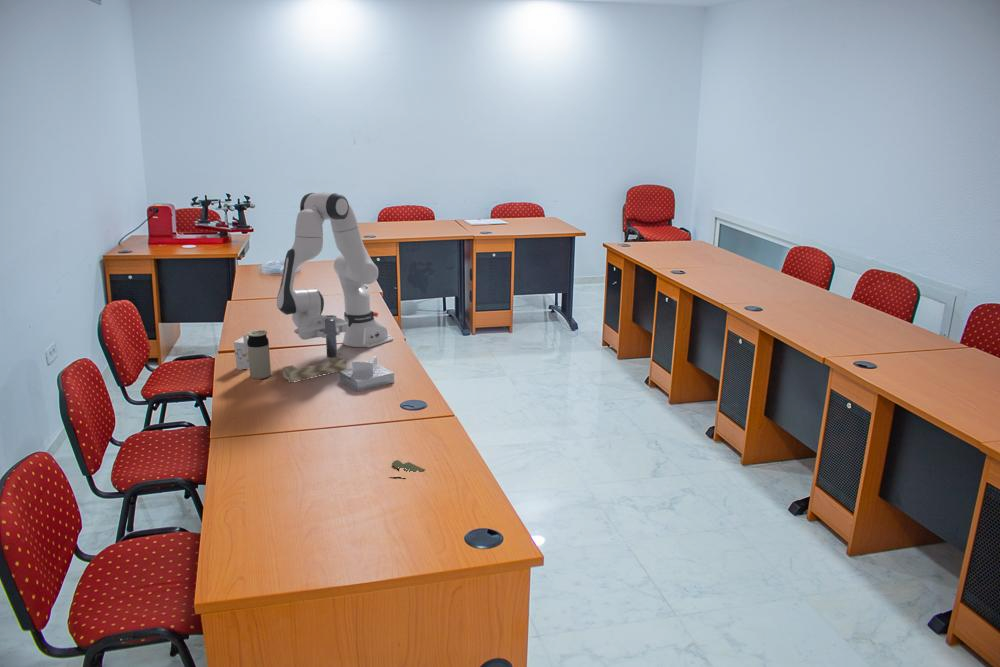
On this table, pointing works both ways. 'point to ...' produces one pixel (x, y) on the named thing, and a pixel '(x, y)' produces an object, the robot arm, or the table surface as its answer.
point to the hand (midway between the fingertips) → (331, 334)
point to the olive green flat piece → (407, 466)
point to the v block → (366, 375)
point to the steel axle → (331, 337)
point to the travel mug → (258, 354)
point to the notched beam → (314, 369)
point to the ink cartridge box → (242, 352)
